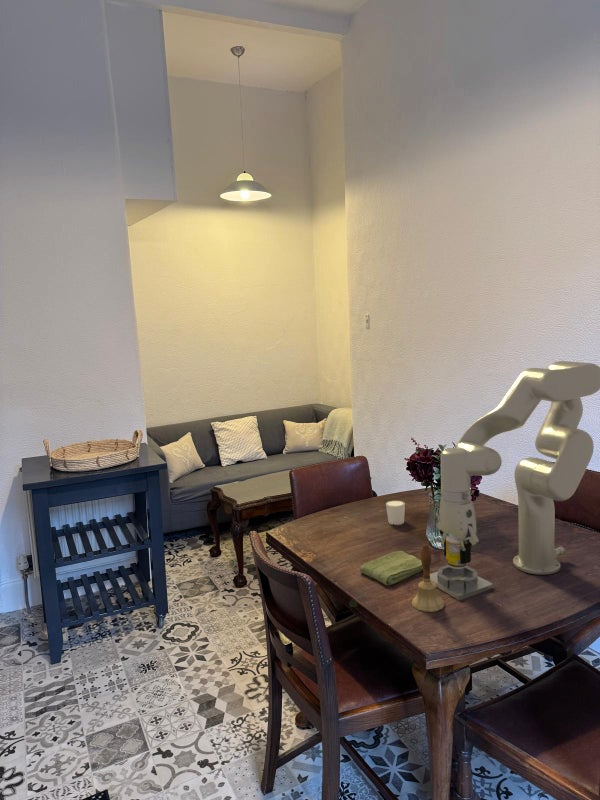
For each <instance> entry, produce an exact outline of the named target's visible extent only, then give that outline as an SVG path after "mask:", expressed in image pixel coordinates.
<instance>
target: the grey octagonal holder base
mask: <svg viewBox="0 0 600 800" xmlns="http://www.w3.org/2000/svg"><path fill="white" fill-rule="evenodd" d="M430 581H432V582H434V583H435V584H436V589H437V590H440V591H442V592H444V593H445V594H447V595H448V596H451V597H452V598H454V599H456V600H457V601H462V600H464V599H467V598H469V597H472V596H475V595H478V594H481V593H483V592H487V591H489V590H492V589H494V583H492V582H490V581H489V580H487V579H484V578H482V577H480V576H479V573H478V571H477V570H476V569H474V568H473V567H470V566H468V565H467V567H465V568H463V569H454V568H451V567H449V566H448V565H447V564H446V565H443V566H440V567H439V568H438V569H437V571H435V572H432V573H430Z"/></svg>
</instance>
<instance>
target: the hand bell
mask: <svg viewBox="0 0 600 800" xmlns="http://www.w3.org/2000/svg"><path fill="white" fill-rule="evenodd" d="M420 560H421V562H422V565H423V572H422V573H423V576H422V578H423V579H422V581H420V582H419V583H418V584H417V585H418V588H417V592H416V595H415V597H414V598H412V601H411V606H412V607H413V608H414V609H415V610H417V611H421V612H425V613H433V612H435V613H436V612H438V611H440V610H442V609H444V607H445V605H446V604H445V601H444V600H443V599H442V597H440V596H439V593H438V588H437V587H436V584H435V583H434V582H432V581H430V574H431V573H430V571H431V569H430V567H431V563H432V552H431V550H430V548H429V544H427V543H423V544H422V548H421V549H420Z"/></svg>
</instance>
